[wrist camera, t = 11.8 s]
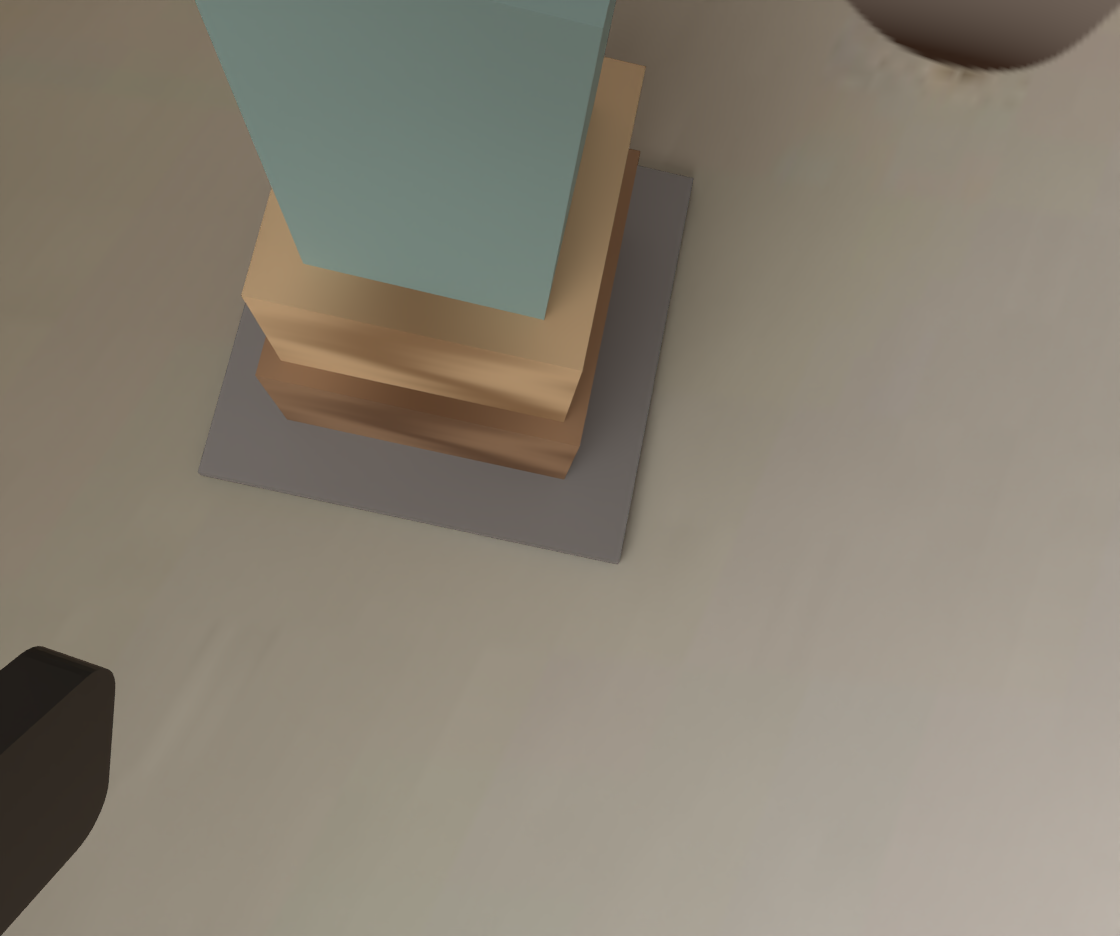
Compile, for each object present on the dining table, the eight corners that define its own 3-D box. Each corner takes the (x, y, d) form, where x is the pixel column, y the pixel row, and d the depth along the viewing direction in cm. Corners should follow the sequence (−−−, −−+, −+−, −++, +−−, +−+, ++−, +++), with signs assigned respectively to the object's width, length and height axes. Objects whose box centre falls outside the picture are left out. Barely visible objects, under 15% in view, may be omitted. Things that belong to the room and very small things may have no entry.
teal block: (594, 102, 23) (686, -331, 13) (543, 320, 22) (602, 28, 12) (364, 47, 23) (282, -435, 13) (303, 263, 21) (161, -81, 12)
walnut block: (617, 223, 32) (640, 151, 27) (563, 479, 30) (579, 446, 26) (355, 163, 32) (335, 81, 27) (286, 419, 30) (255, 375, 26)
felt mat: (690, 184, 33) (693, 178, 32) (617, 563, 30) (619, 562, 30) (307, 96, 32) (305, 89, 32) (201, 475, 30) (197, 472, 29)
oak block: (617, 164, 27) (646, 66, 23) (563, 422, 26) (582, 370, 22) (350, 103, 27) (327, -8, 23) (281, 360, 26) (241, 295, 21)
